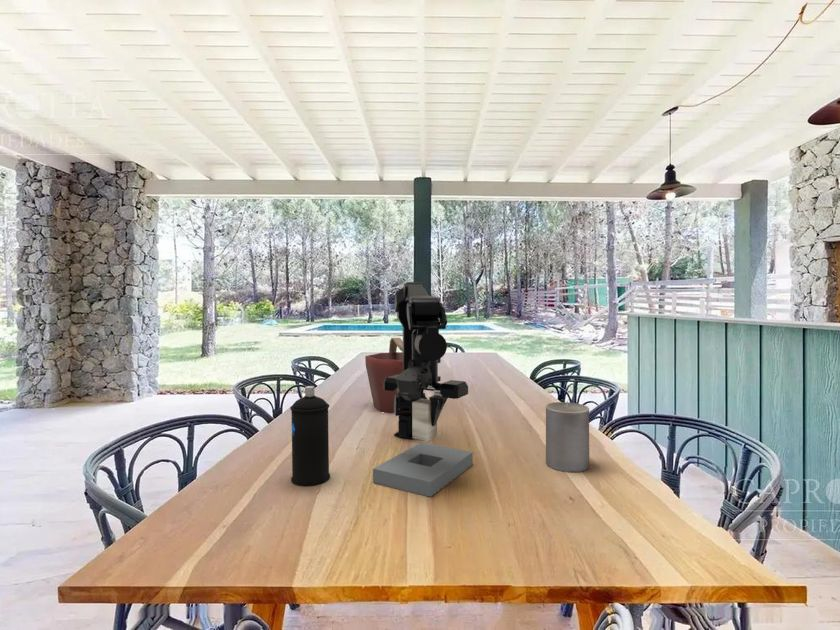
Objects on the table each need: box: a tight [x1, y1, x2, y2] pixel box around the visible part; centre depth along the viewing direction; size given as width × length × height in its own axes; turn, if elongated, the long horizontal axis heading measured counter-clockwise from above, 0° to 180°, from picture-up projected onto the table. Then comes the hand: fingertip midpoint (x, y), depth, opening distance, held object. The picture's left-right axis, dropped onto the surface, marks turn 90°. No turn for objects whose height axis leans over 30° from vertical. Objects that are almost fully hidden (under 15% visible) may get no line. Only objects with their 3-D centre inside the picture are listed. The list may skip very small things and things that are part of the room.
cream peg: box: [412, 398, 438, 442], centre depth 100 cm, size 4×4×8 cm
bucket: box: [365, 337, 403, 414], centre depth 160 cm, size 24×22×25 cm
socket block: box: [372, 442, 474, 498], centre depth 101 cm, size 20×14×3 cm
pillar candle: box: [545, 400, 590, 473], centre depth 105 cm, size 10×10×15 cm
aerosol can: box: [289, 385, 331, 487], centre depth 98 cm, size 8×8×20 cm
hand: (424, 424), depth 100 cm, fingers closed on cream peg, 4 cm apart
